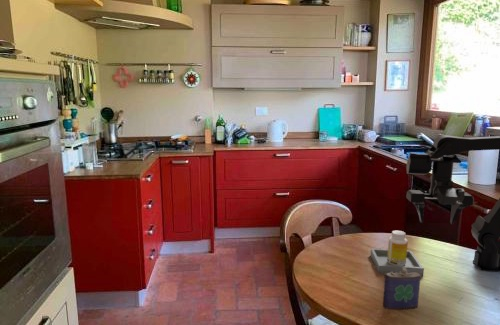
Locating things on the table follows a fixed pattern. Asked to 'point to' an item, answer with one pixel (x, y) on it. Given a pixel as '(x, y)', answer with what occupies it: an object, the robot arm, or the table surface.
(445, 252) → the table surface
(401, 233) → the supplement bottle
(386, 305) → the blue hip flask
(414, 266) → the tray
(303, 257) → the table surface
